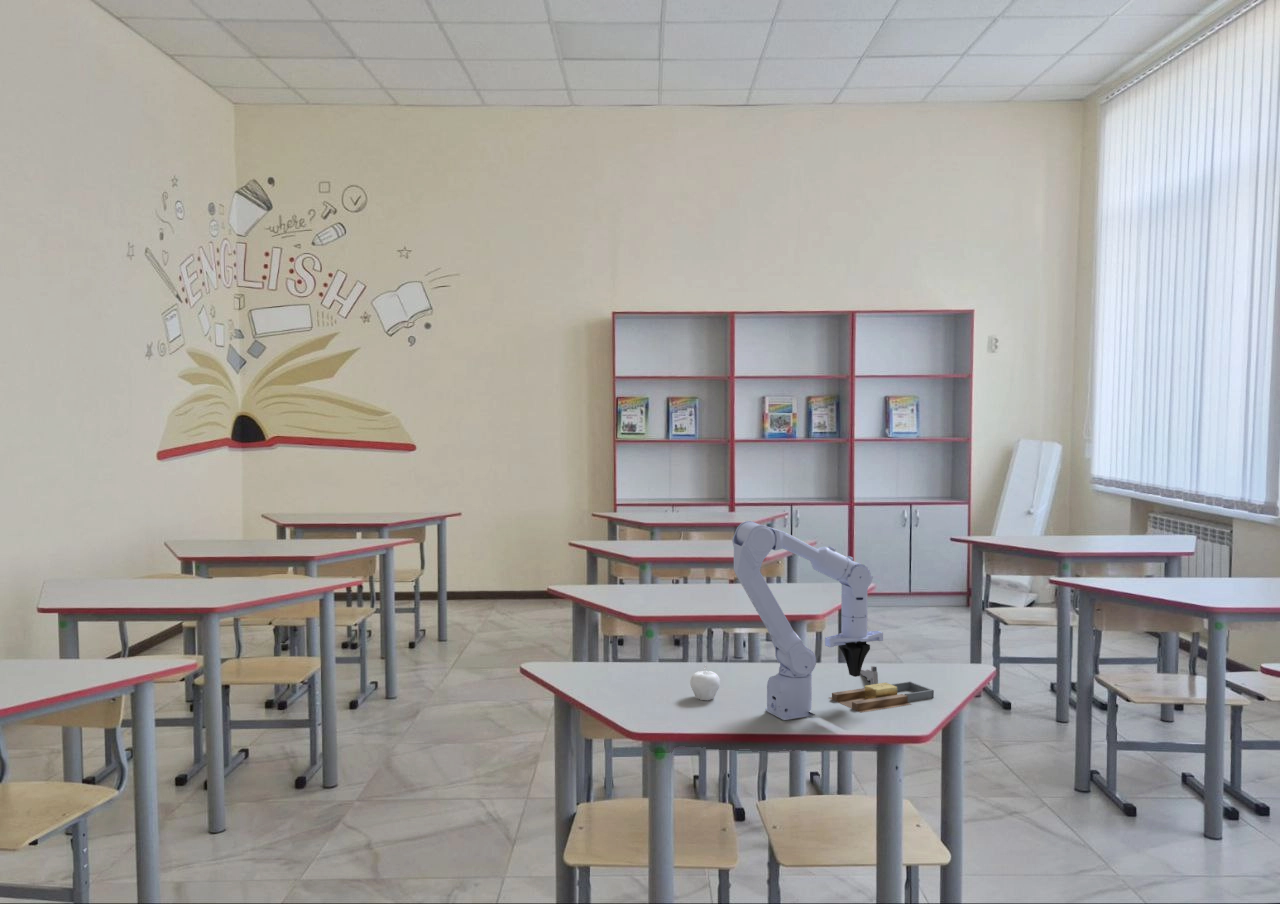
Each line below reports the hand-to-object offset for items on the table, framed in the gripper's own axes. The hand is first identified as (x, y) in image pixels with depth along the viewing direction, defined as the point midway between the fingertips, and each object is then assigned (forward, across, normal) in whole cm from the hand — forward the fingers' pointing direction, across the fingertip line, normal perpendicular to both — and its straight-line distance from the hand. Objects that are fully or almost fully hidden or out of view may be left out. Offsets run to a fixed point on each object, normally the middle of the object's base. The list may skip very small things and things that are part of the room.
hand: (854, 675), depth 210 cm
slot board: (+8, +4, 0) cm, 9 cm away
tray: (+8, +15, 0) cm, 17 cm away
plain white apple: (+8, -27, +21) cm, 35 cm away
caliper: (+8, +16, +17) cm, 25 cm away
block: (+6, +7, 0) cm, 10 cm away
